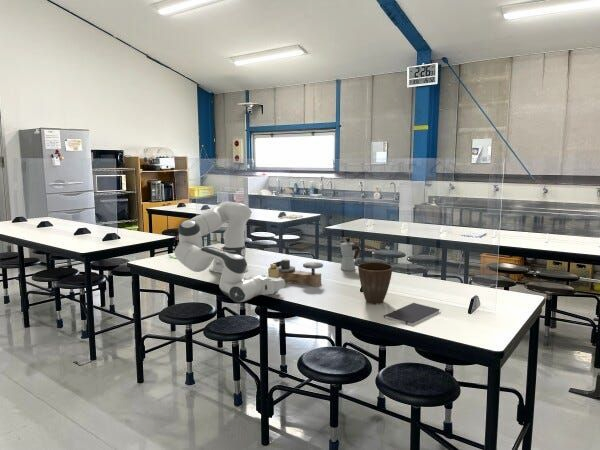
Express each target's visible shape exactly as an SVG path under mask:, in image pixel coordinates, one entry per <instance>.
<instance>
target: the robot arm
mask: <svg viewBox="0 0 600 450" xmlns="http://www.w3.org/2000/svg"><path fill="white" fill-rule="evenodd" d="M251 211H252V210H251V208H250V207H249V206H248V205H246V204H244V203H243V202H236V201H222V202H220V203H218V205H217V206H215V207H214V208H212V209H211V210H208V211H205V212H203V213H200V214H198V215H196V216H194V217H192V218H190V219H185V220H183V221H181V222H180V223H179V224H178V226H177V227H178V229H177V232H178V240H179V244H178V245H176V247H175V249H174V256H175V259H176V260H177V261H178V262H180V264H182V265H183V266H184V267H186V268H187V269H188V270H190V271H191V272H195V273H201V272H203V271H205V270H206V269H208V270H209V272H215V273H218V274H221V276H220V279H219V285H218V286H219V287H218V288H219V289H220V291H221V292H222V293H223V294H224V295H226V296H227V297H229V298H230V299H231V300H232V301H233V302H235V303H242V302H247V301H249V300H251V299H252V298H254V297H258V296H261V295H273V294H274V293H275V292H278V291H280V290H282V289H283V288H285V285H286V282H285V280H284V279H282V278H281V277H279V278H272V277H268V276H266V275H264V274H262V275H260V274H247V275H246V276H244V275H245V273H246V272H248V271H249V268H248V267H249V266H248V262H247V259H246V245H245V229H246V225H247V222H248V221H249V220H250V218H251V214H252V212H251ZM225 224H227V227H226V229H225V231H224V233H223V239H224V245H223V246H222V247H221V248H217V247H213V246H203V238H202V237H203V236H206V235H208V234H210V233H213V232H215V231H217V230H220V229H221V228H222V226H223V225H225ZM212 262H213V263H212ZM211 265H212V266H211Z"/></svg>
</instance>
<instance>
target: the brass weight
mask: <svg viewBox="0 0 600 450" xmlns="http://www.w3.org/2000/svg"><path fill="white" fill-rule="evenodd" d="M277 267H278V266H277V263H271V264H270V267H269V268H267V273H268V276H267V277H272V278H279V268H277Z"/></svg>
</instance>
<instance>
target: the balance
mask: <svg viewBox="0 0 600 450" xmlns="http://www.w3.org/2000/svg"><path fill="white" fill-rule="evenodd" d="M290 261H291V260H290V259H281V260H280V263H281V265H279V266H276V267H277V268H279V277H281V278H282V279H284V280H285V283H291V284H298V285H306V286H312V287H317V286H319V285H321V284H322V273H321V272H320V273H318V272H316V269H321V268H323V267H324V263H322V262H315V261H314V262H313V261H311V262H310V261H309V262H305V263H303V264H302V267H303V268H305V269H310V270H311V271H305V270H304V271H303V270H296V267H295V266H293V265H291V263H290Z"/></svg>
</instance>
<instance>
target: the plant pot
mask: <svg viewBox="0 0 600 450" xmlns="http://www.w3.org/2000/svg"><path fill="white" fill-rule="evenodd" d="M357 268H358V275H359V277H358V278H359V281H360V286H361V290H362V293H363V296H364V299H365V302H366V303H367V304H371V305H380V304H383V302H384V301H385V298H386V296H387V293H388V291H389V290H388V289H389V286H390V283H391V280H392V273H393V269H394V268H393V266H392V265H391V264H389V263H385V262H373V261H372V262H364V263H360V264H358V265H357Z"/></svg>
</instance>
